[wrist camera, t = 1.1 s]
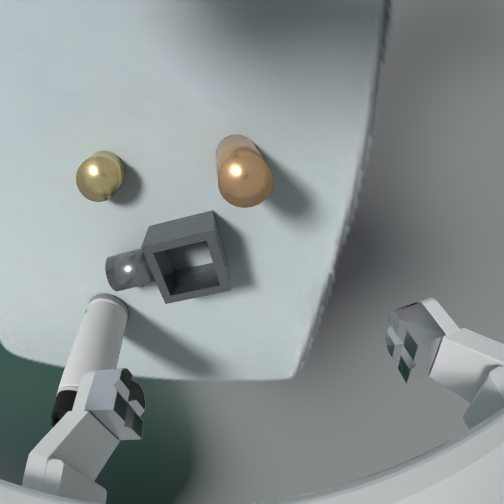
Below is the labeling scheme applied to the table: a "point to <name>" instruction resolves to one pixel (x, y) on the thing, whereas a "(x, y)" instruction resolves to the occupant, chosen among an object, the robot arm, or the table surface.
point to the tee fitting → (160, 269)
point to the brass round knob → (100, 176)
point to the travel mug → (92, 348)
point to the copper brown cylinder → (242, 172)
